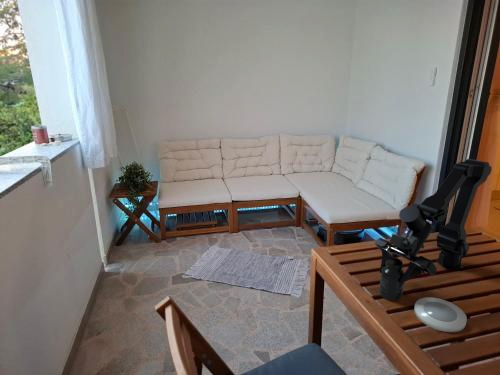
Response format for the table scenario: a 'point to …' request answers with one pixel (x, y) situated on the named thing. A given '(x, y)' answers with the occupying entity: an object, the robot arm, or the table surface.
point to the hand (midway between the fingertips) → (389, 278)
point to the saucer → (440, 314)
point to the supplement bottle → (392, 279)
